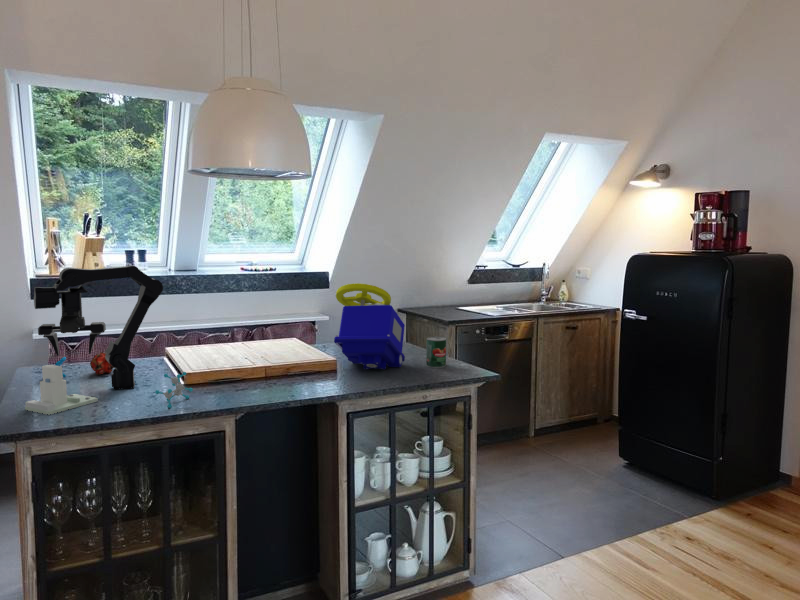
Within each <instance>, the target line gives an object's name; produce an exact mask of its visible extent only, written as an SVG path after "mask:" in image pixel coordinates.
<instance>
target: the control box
mask: <svg viewBox="0 0 800 600" xmlns="http://www.w3.org/2000/svg"><path fill="white" fill-rule="evenodd" d="M351 292H358V293H356V294H355V295H354V296H353V295H352V296H344V295H345V294H346V293H351ZM371 294H373V295H376V296H378V297H380V298H381V299H382V301H379V300H376V299H373V298H372V295H371ZM335 298H336V300H337V302H339V303H340V305H342V306H343V307H342V312H341V319H340V325H339V331H338V334H337V335H335V336H334V339H333V342H334V344H335V345H336V346H337V347H338V348H340V350H341V353H342V354H343V355H344V356H345V357H346V358H347V361H348V362H350V363H352V364H356V365H357V364H360V365H363V370H370V369H378V370H383V371H384V370H385V371H386V368H387V367H388V368H401V367H402V366H403V362H405V358H406V357H405V354H404V352H403V347H404V345H403V344H404V335H405V327H406V326H405V323H404V322H403V320H402V319H401V317H400V316H399V314H398V313H397V311H396V310H395V309H394V307H393V306H392V305H391V303H392V296H391V295H390V294H389V292H388V291H387V290H384V288H381V287H379V286H376V285H373V284H367V283H360V282H358V283H347V284H344V285H341V286H339V287H338V288H337V290H336V291H335Z"/></svg>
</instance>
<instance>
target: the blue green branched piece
mask: <svg viewBox="0 0 800 600" xmlns="http://www.w3.org/2000/svg"><path fill="white" fill-rule="evenodd" d="M65 361H67V357H66V356H63V357H61V358H60V359H59V360H57V362H55V364H54V365H56V366H61V365H63V364H64V362H65ZM66 377H67V374H65V373H64V372H63V379H64V378H66ZM42 379H43V376H42Z"/></svg>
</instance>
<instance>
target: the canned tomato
mask: <svg viewBox="0 0 800 600" xmlns="http://www.w3.org/2000/svg"><path fill="white" fill-rule="evenodd" d="M425 348H426V358H425V359H426V360H425V362H426V364H425V366H426V367H428V368H432V369H434V368H435V369H441V368H445V367H446V366H447V365H446V364H447V338H446V337H442V336H428V337H427V338H426V347H425Z"/></svg>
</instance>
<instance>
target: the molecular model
mask: <svg viewBox="0 0 800 600" xmlns="http://www.w3.org/2000/svg"><path fill="white" fill-rule="evenodd" d="M186 375H187V372H186V371H182V374H180V373H178V374H176V376H174V377H171V376H169V375H168V373H164V374H163V377H164V378H168V379H170V380H171V382H172V383H171V385H172V387H175V389H174V390H173V389H171V388H168V389H167V390H166V391H165V392H161V391H160V390H159V389H156V390H155V391H154V392H155V394H156V395H159V394H160V395H163V396H164V398H165V399H166V401H167V408H168V409H171V408H172V406H173V405H172V403H171V400H172V398H174V397H175V396H176V397H178V396H183V397H185V400H189V399H190V396H189V395H185V393H182V391H183V390H186V391H189V393H190V392H193V390H194V389H193V388H192V387H189V388H188V387H185V386H184V384H182V383H181V378H182V377H184V376H186Z"/></svg>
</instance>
